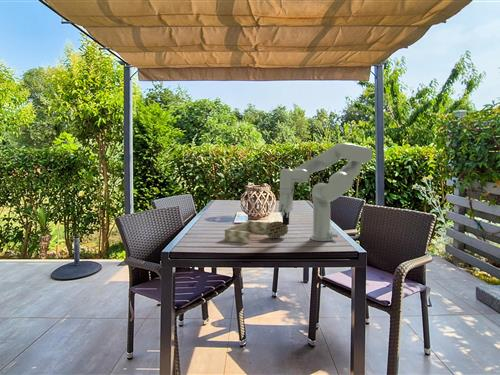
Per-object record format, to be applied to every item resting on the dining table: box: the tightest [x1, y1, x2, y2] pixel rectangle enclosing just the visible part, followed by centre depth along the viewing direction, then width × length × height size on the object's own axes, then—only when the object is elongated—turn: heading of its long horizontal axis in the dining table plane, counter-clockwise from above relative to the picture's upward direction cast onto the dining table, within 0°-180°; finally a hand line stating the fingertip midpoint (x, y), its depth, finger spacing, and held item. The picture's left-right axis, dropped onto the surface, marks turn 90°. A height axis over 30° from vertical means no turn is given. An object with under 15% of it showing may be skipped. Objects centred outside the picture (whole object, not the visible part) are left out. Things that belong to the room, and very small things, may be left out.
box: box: [224, 220, 272, 244], centre depth 191 cm, size 16×28×6 cm, turn 152°
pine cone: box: [251, 220, 289, 240], centre depth 185 cm, size 22×10×10 cm, turn 94°
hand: (285, 224), depth 179 cm, fingers closed
